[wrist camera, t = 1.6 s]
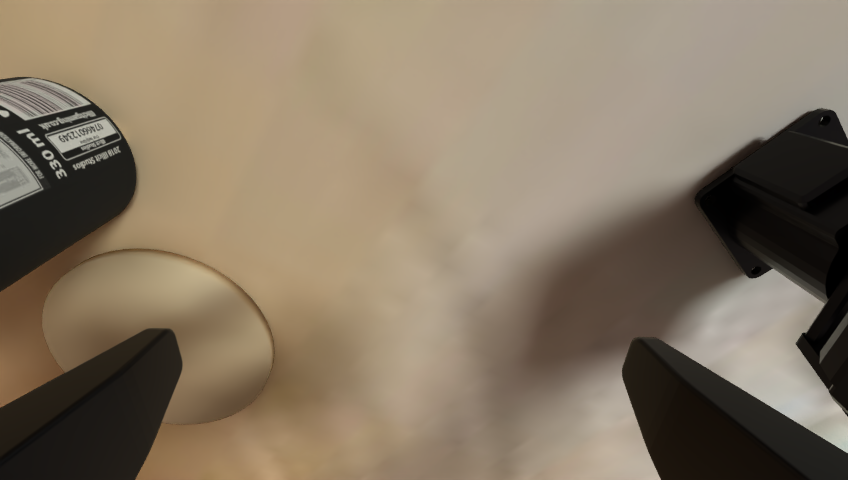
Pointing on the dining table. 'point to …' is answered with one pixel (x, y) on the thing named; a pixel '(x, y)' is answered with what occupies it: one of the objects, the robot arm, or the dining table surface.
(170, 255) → the disc
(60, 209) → the beverage can
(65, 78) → the dining table surface
